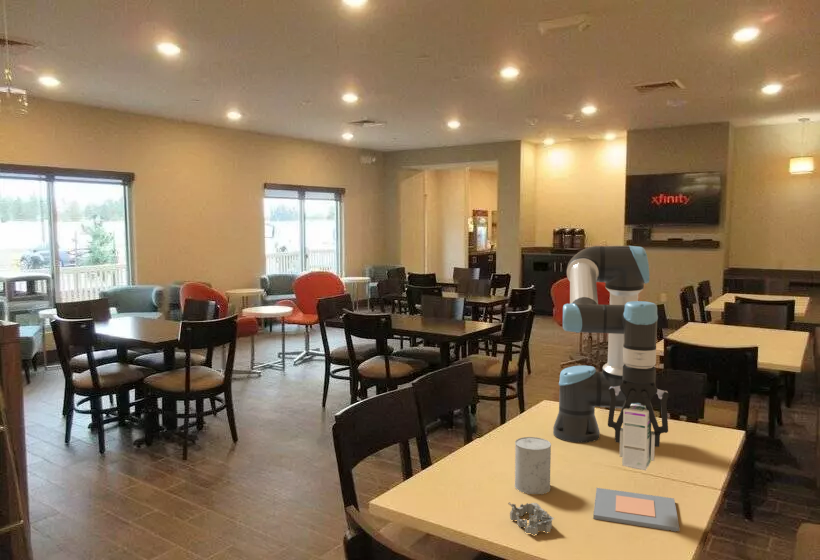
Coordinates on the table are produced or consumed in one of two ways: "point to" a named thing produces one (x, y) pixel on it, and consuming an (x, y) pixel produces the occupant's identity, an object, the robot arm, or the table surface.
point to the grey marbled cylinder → (532, 465)
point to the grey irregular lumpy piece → (532, 518)
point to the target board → (636, 509)
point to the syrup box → (636, 437)
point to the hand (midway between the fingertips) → (636, 456)
